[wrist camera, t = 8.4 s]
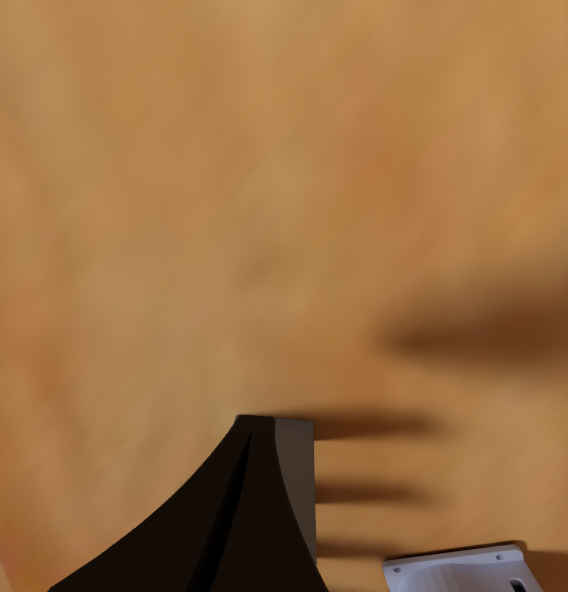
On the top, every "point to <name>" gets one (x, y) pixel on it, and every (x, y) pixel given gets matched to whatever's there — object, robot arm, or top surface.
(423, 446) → the top surface
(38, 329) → the top surface
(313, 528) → the domino
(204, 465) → the robot arm
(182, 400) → the top surface
